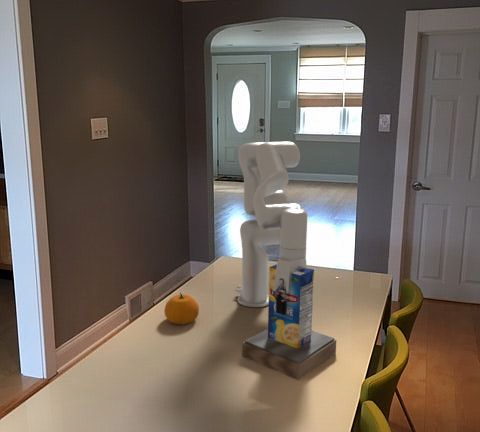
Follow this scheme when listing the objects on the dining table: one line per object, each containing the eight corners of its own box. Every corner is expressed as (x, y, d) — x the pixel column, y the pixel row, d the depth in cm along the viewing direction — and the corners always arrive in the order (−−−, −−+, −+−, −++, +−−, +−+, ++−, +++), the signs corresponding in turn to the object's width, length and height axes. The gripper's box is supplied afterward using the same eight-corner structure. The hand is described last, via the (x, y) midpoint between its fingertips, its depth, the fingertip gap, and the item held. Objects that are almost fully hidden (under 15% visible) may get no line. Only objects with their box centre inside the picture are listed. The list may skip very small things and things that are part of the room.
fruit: (165, 329, 170) (165, 300, 168) (163, 314, 181) (163, 288, 179) (201, 326, 172) (200, 298, 170) (196, 312, 183) (196, 286, 181)
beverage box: (298, 348, 146) (301, 275, 142) (267, 337, 153) (269, 267, 149) (311, 340, 152) (314, 269, 147) (280, 329, 158) (282, 261, 154)
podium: (242, 356, 152) (242, 340, 151) (281, 334, 167) (281, 319, 166) (298, 379, 140) (299, 363, 138) (335, 353, 155) (336, 338, 153)
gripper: (298, 243, 155) (296, 297, 159) (263, 256, 142) (262, 314, 146) (320, 248, 150) (317, 303, 154) (286, 261, 138) (284, 321, 141)
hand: (290, 308), depth 150 cm, fingers open, 9 cm apart
